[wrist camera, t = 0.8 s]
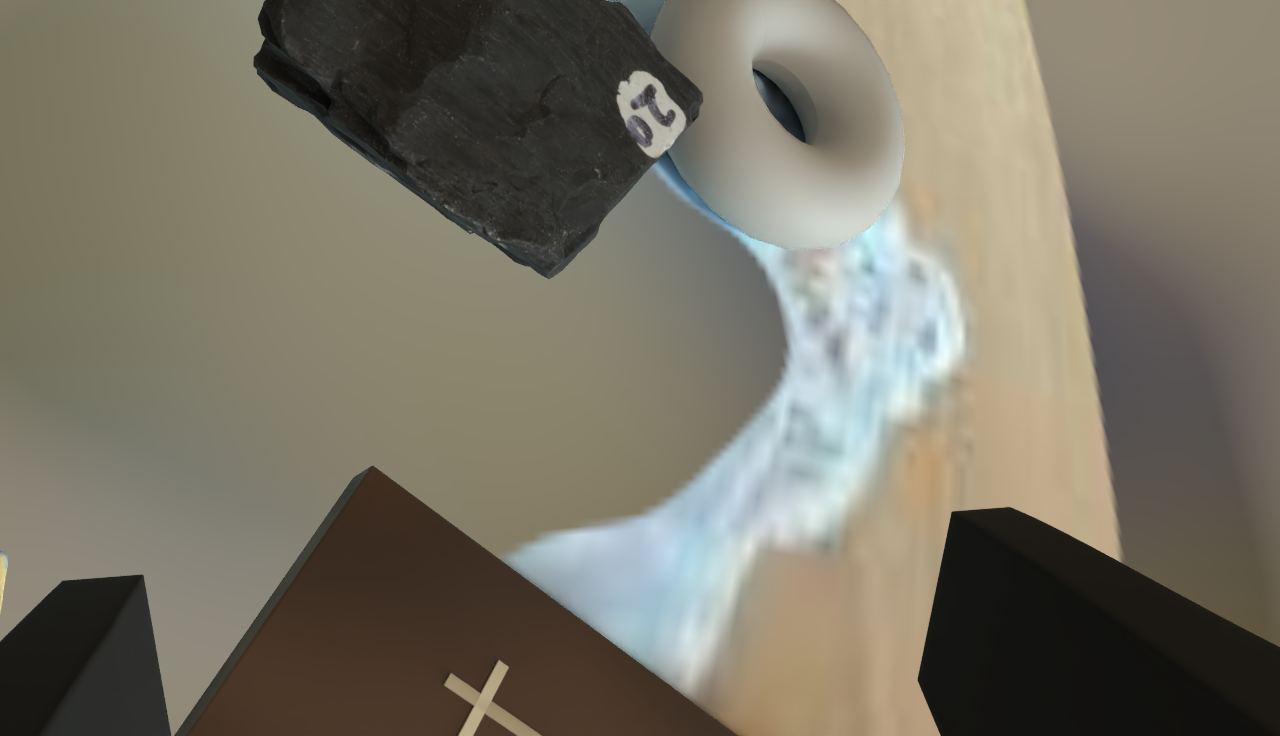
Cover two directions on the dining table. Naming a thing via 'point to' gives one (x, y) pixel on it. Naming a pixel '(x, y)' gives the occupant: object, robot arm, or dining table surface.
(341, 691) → the board
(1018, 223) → the dining table surface
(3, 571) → the alphabet block
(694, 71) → the donut
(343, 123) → the mineral
